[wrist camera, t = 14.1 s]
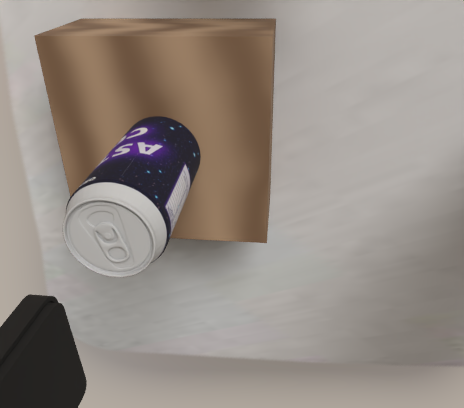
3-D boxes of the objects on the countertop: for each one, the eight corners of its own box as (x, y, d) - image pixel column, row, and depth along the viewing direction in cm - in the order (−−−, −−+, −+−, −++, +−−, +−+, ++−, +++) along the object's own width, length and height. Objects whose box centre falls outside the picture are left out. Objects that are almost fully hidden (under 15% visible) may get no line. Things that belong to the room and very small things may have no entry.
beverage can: (186, 102, 31) (135, 179, 21) (213, 173, 34) (179, 273, 23) (115, 123, 33) (34, 205, 22) (146, 190, 35) (86, 291, 25)
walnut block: (275, 18, 35) (272, 36, 28) (270, 195, 43) (266, 242, 36) (81, 18, 37) (34, 35, 30) (110, 189, 45) (78, 233, 38)
